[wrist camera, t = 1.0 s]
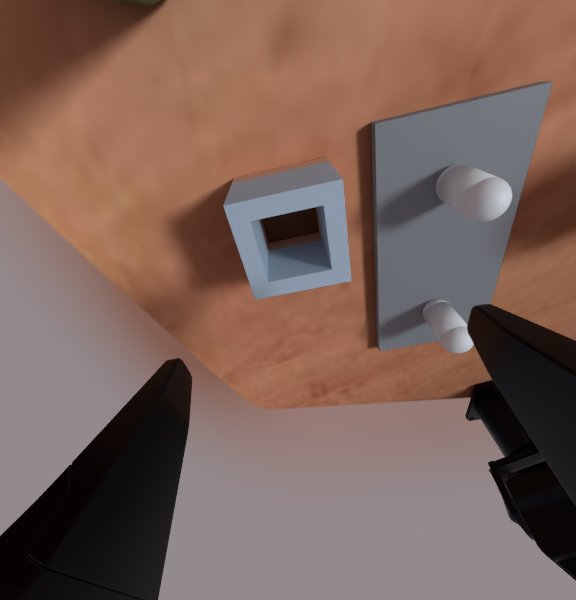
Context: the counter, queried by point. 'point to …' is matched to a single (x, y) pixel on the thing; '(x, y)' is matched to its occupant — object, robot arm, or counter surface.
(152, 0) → the soda can
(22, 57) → the counter surface
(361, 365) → the counter surface
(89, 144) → the counter surface
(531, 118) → the pin board
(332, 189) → the sleeve
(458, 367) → the counter surface
